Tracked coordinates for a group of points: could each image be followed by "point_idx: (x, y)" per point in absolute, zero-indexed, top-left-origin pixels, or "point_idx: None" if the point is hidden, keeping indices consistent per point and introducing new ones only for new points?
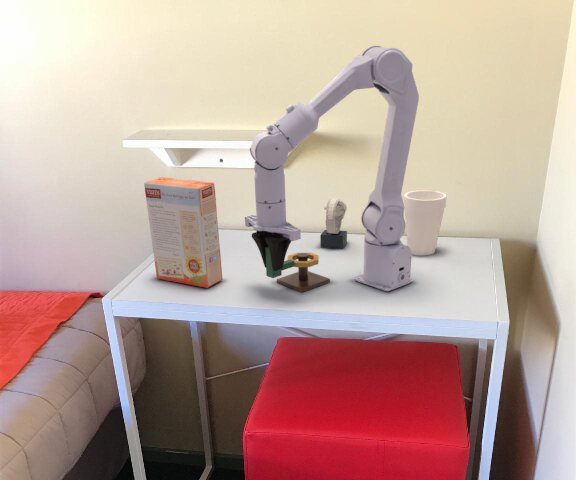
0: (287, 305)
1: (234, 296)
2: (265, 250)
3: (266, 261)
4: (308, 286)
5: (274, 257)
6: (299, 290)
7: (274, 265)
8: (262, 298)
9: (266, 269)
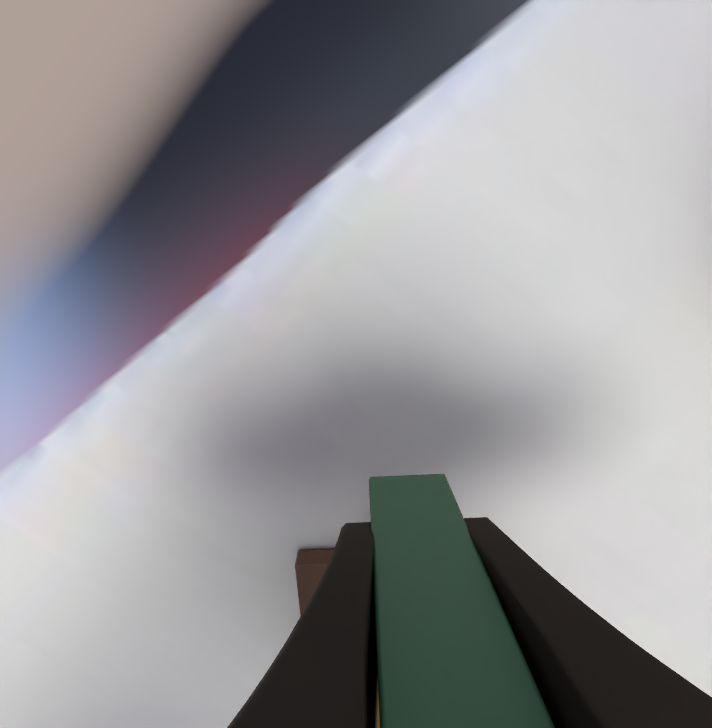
0: (204, 396)
1: (525, 247)
2: (532, 696)
3: (467, 560)
4: (300, 605)
5: (292, 635)
6: (316, 552)
7: (332, 555)
8: (378, 355)
9: (453, 504)
